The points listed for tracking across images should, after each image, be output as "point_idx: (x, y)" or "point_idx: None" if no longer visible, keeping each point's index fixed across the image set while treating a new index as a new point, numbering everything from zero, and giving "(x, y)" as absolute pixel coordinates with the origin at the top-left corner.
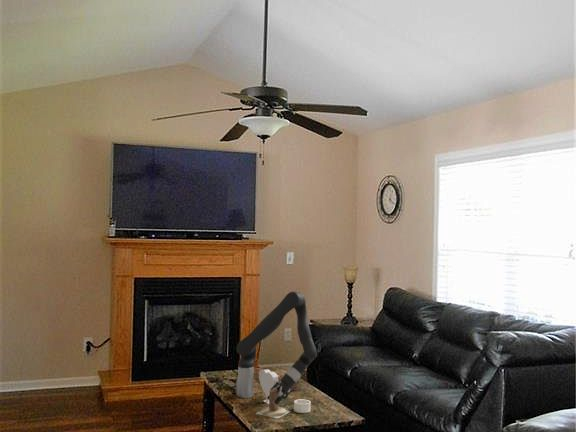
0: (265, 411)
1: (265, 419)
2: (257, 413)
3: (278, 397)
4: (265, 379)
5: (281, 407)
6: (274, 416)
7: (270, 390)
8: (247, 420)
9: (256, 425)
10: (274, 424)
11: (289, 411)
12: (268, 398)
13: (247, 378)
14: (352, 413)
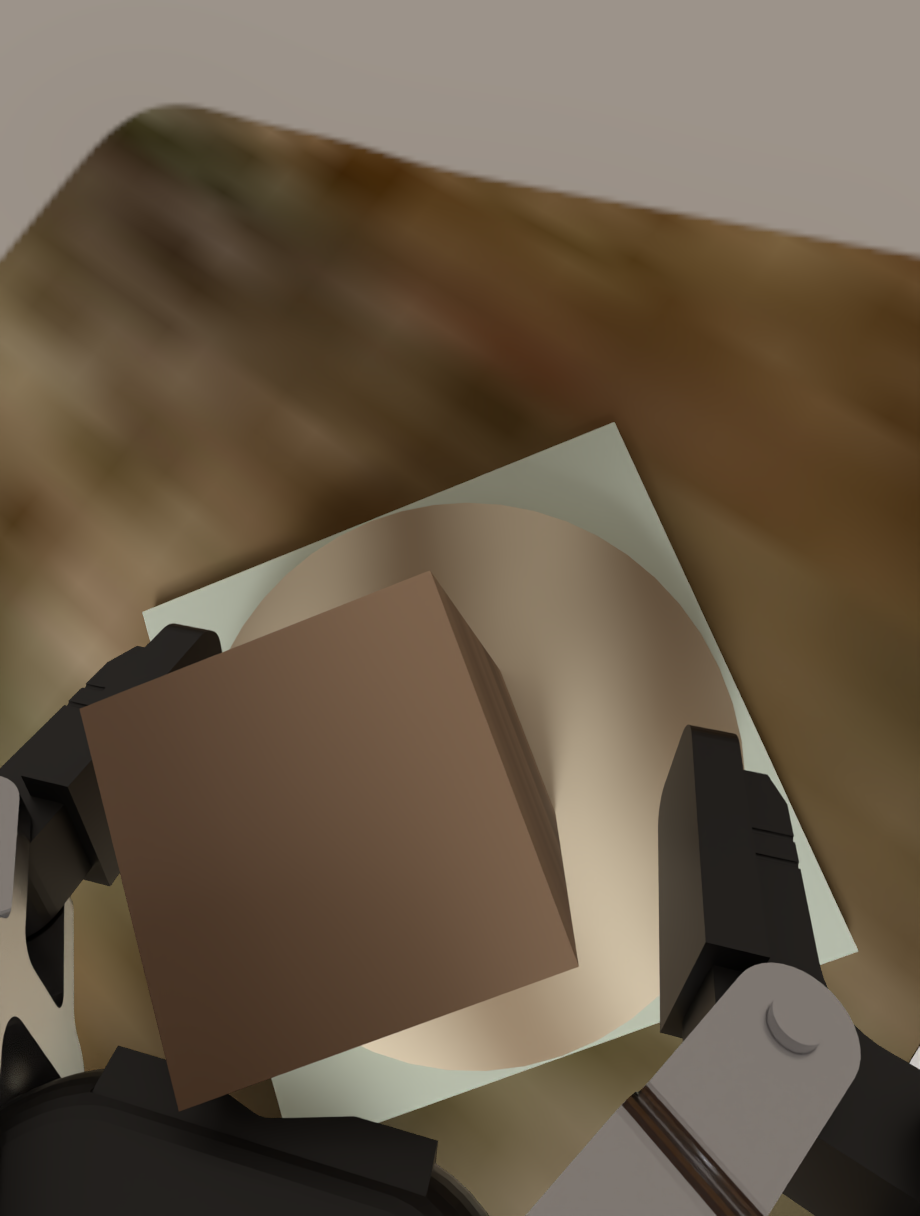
0: (486, 563)
1: (286, 431)
2: (593, 455)
3: (39, 754)
4: None
5: (503, 1063)
6: None
7: (433, 647)
8: (430, 167)
9: (165, 173)
10: (19, 417)
11: (300, 1101)
12: (678, 757)
13: None
14: None
